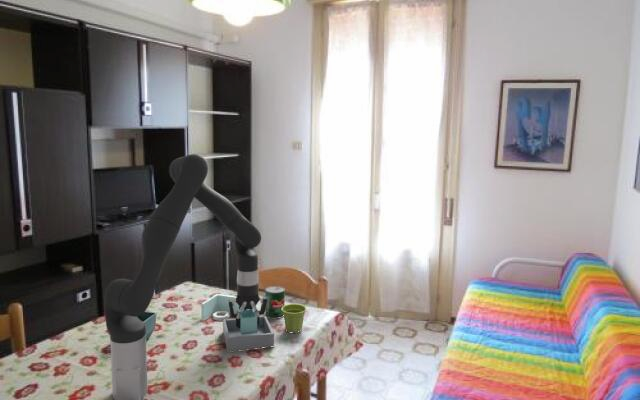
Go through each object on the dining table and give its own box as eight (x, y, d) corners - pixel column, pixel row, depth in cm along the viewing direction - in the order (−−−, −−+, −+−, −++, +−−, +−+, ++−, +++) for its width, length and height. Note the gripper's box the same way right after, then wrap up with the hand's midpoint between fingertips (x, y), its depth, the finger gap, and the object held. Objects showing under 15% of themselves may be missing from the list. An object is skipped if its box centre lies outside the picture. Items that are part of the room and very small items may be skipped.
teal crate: (257, 333, 163) (257, 317, 162) (241, 334, 161) (241, 318, 160) (253, 324, 170) (253, 308, 169) (238, 325, 168) (238, 310, 168)
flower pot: (144, 346, 158) (143, 322, 157) (121, 343, 160) (120, 319, 159) (157, 335, 167) (157, 312, 166) (136, 333, 169) (135, 309, 167)
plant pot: (276, 331, 173) (276, 309, 172) (289, 323, 181) (289, 302, 180) (297, 337, 169) (298, 315, 167) (310, 328, 177) (310, 306, 176)
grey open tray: (273, 347, 161) (274, 333, 160) (227, 352, 156) (227, 338, 155) (265, 328, 176) (265, 315, 175) (223, 332, 171) (223, 319, 170)
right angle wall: (201, 322, 181) (201, 303, 180) (217, 311, 193) (217, 293, 192) (228, 326, 178) (228, 308, 177) (243, 315, 189) (243, 297, 188)
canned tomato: (277, 320, 184) (277, 293, 182) (261, 315, 188) (261, 290, 186) (288, 313, 190) (288, 288, 189) (272, 309, 194) (273, 284, 193)
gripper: (228, 286, 157) (228, 333, 160) (269, 283, 161) (269, 328, 164) (226, 279, 164) (226, 324, 167) (265, 276, 168) (265, 320, 171)
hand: (247, 326), depth 165 cm, fingers closed on teal crate, 5 cm apart
